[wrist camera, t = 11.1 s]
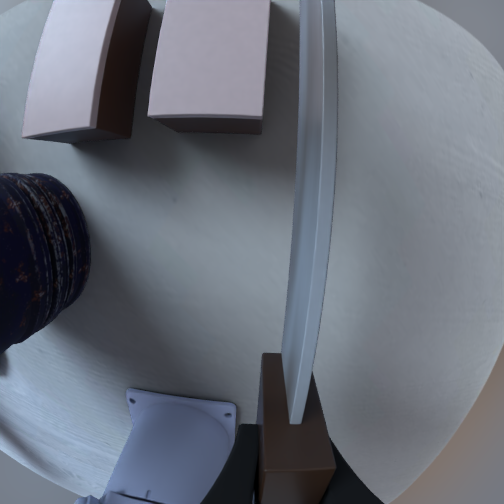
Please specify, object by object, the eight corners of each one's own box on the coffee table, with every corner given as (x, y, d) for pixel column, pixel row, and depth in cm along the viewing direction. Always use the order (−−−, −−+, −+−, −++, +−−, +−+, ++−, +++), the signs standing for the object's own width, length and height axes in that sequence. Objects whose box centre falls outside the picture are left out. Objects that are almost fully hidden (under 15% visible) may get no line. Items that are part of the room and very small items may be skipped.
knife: (288, 455, 11) (295, 546, 6) (253, 455, 11) (250, 546, 6) (324, -32, 7) (356, -121, 2) (280, -37, 7) (290, -132, 2)
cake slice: (261, 135, 15) (262, 116, 10) (176, 132, 15) (146, 116, 10) (270, -1, 13) (273, -46, 8) (195, -1, 13) (178, -44, 8)
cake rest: (131, 138, 15) (89, 126, 10) (69, 143, 15) (20, 138, 10) (152, 6, 13) (126, -31, 8) (91, 19, 13) (56, -9, 8)
